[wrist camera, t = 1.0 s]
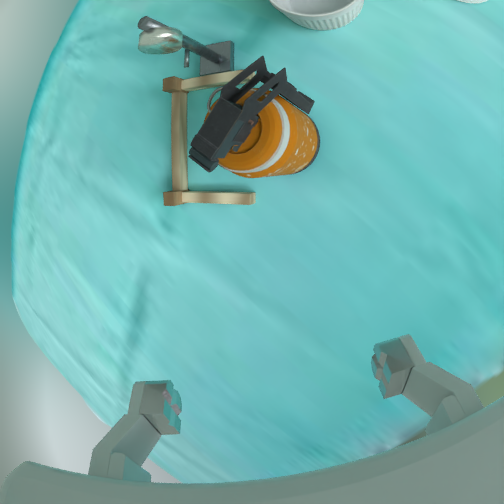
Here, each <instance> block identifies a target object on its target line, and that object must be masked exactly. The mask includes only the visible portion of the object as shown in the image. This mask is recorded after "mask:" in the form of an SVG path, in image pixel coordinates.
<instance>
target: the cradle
mask: <svg viewBox="0 0 504 504" xmlns="http://www.w3.org/2000/svg"><path fill="white" fill-rule="evenodd" d="M242 71H243V70H237V71H230V72H224V73H218V74H212V75H206V76H201V77H195V78H190V79H185V80H183V79H181V78H178V77H175V76H173V77H169V78H165V79H163V91H165V92H169V93H172V121H171V141H172V188H173V191H168V192H163V195H164V206H176V205H180V204H184V203H219V204H243V205H251V204H254V203H255V192H217V191H189V190H188V178H187V93H189V91H194V90H200V89H206V88H212V87H219V86H224V85H226V84H227V83H228V82H229V81H231V80H232V79H233V78H234V77H236V76H237V75H238V74H239V73H241V72H242ZM254 76H255V72H253V73H252V74H251V75H250V76H248V77H247V78H246V79H244V80H243V81H242V82H241V83H239V84H242V83H247V82H248V81H249V80H250V79H251V78H253V77H254Z"/></svg>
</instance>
